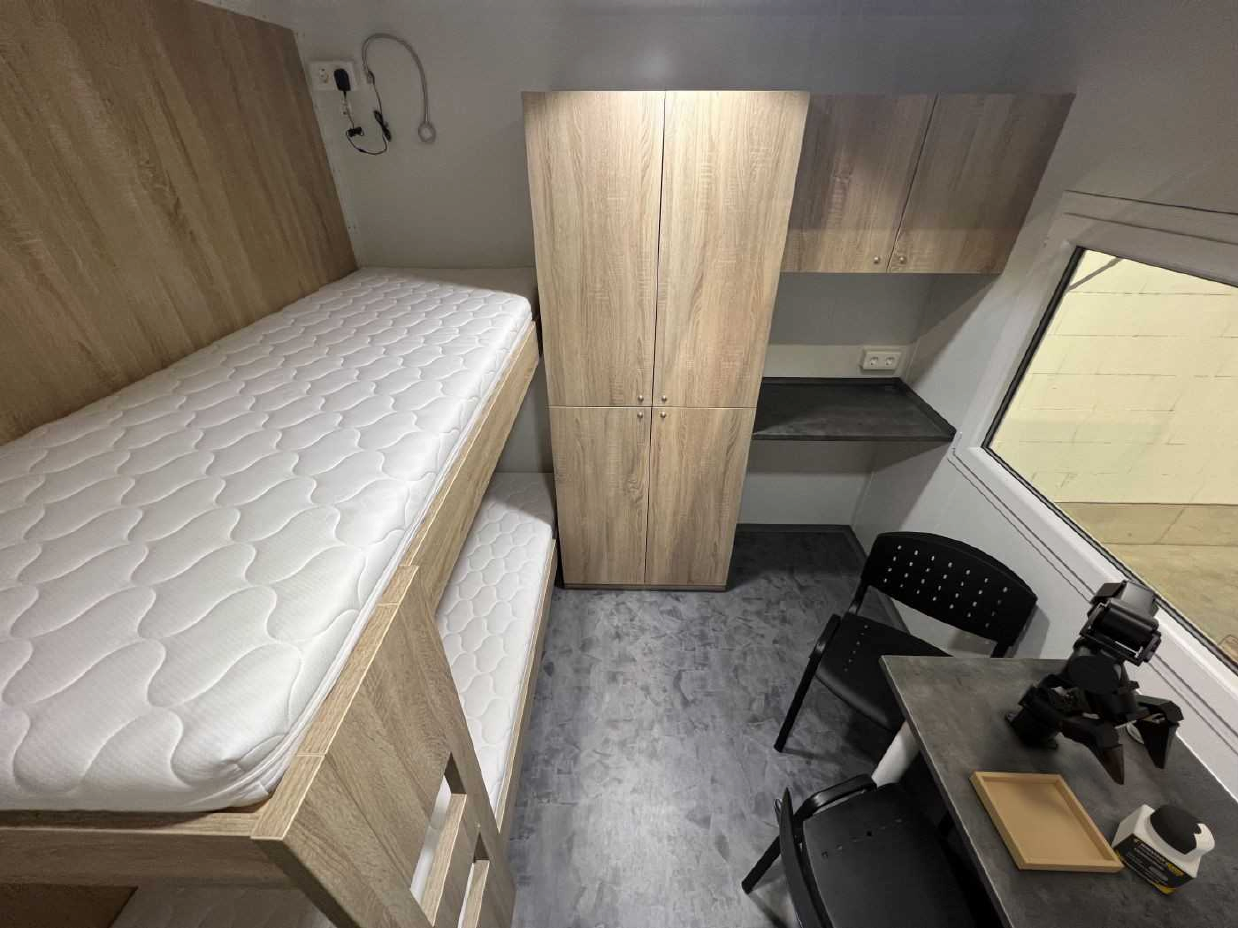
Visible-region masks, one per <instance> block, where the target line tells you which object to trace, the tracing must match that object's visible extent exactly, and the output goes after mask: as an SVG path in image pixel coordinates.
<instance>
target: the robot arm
mask: <svg viewBox="0 0 1238 928" xmlns="http://www.w3.org/2000/svg"><path fill="white" fill-rule="evenodd" d="M1159 595H1160V594H1159V593H1157V592H1156V591H1155V590H1154V589H1152V588H1150V587H1147V586H1146V585H1143V584H1141V583H1139V582H1136V581H1134V580H1132V579H1126V578H1123V579H1122V581H1120V582H1104V583H1103V584H1102V585H1101V586H1100V587H1099V588H1098V590H1096V592H1095V593H1094V595H1093V596H1092V597H1091V598H1090V600H1089V601H1088V604H1090V605H1091V606H1090V608H1089V610H1088V611H1087V612H1086V617H1087V620H1086V622H1085V624H1084V625H1083V626H1082V627H1081V629H1080V631H1079V633H1078V635H1079V636H1080V637H1078V638H1077V639H1076V640H1075V641H1074V642H1073V645H1072V646H1071V648H1072V650H1073V652H1072V653H1071V654H1070V656H1069V657H1068V658H1067V660H1066V661H1065V663H1064V664H1063V666H1062V667H1061V668H1060V670H1059V672H1058V673H1054V672H1052V673H1049V674H1047V676H1043V678H1042V679H1041V680H1040V681H1039V682H1038V683H1037V684H1036V683H1034V682H1033V683H1031V684H1030V685H1029V686H1028V687H1027V688H1026V690H1025V691H1024V693H1023V694H1022V696H1021V697H1020V699H1019V700H1018V702H1017V705H1018V706H1020V707H1021V709H1020V710H1019V712H1018V713H1005V716H1004V717H1005V719H1006V720H1007V722H1008V723H1009V724H1010V727H1012V729H1013V730H1014V731H1015V733H1016V735H1017V736H1018V738H1019V739H1020V741H1021V742H1022V744H1023V745H1024V746H1025V747H1026V748H1039V749H1058V748H1059V747H1060V745H1059V743H1058V742H1057V741H1056V739H1055V738H1056V737H1057V736H1058V735H1059V734H1060V733H1061V734H1062V736H1063V738H1065V739H1069V740H1072V742H1073V743H1077V744H1081V745H1083V746H1084V747H1085V748H1087V749H1088V751H1090V753H1091V754H1092V755H1093V757H1095V759H1096V760H1097V761H1098V762H1099V764H1100V765H1101V767H1102V768H1103V769H1104V770H1105V772H1106V773H1107V774H1108V775H1109V777H1110V778H1111V779H1112V781H1113V783H1115V784H1117V785H1119V786H1124V785H1125V775H1126V774H1125V758H1124V757H1125V753H1124V744H1123V743H1120V742H1119V741H1120V734H1119V732H1118V729H1120V728H1121V729H1122V728H1125V727H1127V725H1129V724H1132V725H1133V726H1134V727H1135V728H1136V729H1137V730H1138V731H1139V733H1140V736H1141V738H1142V740H1143V742H1144V744H1143V745H1144V747H1145V749H1146V752H1147V753H1148V756H1149V758H1150V760H1151V761H1152V763H1153V765H1154V767H1155V768H1157V769H1160V770H1165V769H1166V767H1167V763H1168V759H1169V755H1170V751H1171V748H1172V744H1173V741H1174V739H1175V736H1176V733H1177V730H1178V728H1180V727H1181V724H1180V722H1182V721H1184V720H1185V717H1184V714H1183V712H1182V709H1181V707H1180V706H1179V705H1178V704H1176V703H1175V702H1173V700H1171V699H1166V698H1160V697H1156V696H1149V695H1144V694H1139V693H1138V694H1136V693H1135V690H1139V689H1141V687H1140V683H1139V681H1137V680H1132V679H1130V677H1129V674H1128V671H1127V669H1126V665H1125V662H1126V661H1127V662H1129V663H1130V664H1132V665H1134V666H1136V667H1138V668H1139V667H1140V666H1141V665H1142V664H1143V663H1144V664H1147V663H1149V662H1150V661H1151V660H1152V659H1153V656H1154V655H1155V653H1156V652H1157V650H1158V649H1159V647H1160V645H1161V644H1162V638H1161V637H1162V636H1163V634H1162V632H1161V631H1159V628H1160V623H1159V619H1157V618H1156V617H1155V616H1156V615H1157V613H1158V612H1159V611H1160V607H1159V605H1158V603H1157V602H1156V600H1157V599H1158V597H1159ZM1137 653H1138V655H1137ZM1084 714H1087V715H1096V716H1097V718H1094V717H1090V716H1086V715H1084Z"/></svg>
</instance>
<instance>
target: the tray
mask: <svg viewBox="0 0 1238 928" xmlns="http://www.w3.org/2000/svg"><path fill="white" fill-rule="evenodd" d="M969 781H970V782H971V784H972V786H973V789H974V790H975V791H976V793H977V795H978V797H979V799H980V800H981V802H982V804H983V806H984V808H985V809H986V812H988V815H989V817H990V819H991V820H992V823H993V825H994V826H995V827H996V830H997V831H998V834H999V835H1000V837H1001V839H1002V841H1003V842H1004V844H1005V846H1006V847H1007V849H1008V851H1009V853H1010V855H1011V857H1012V858H1013V861H1014V862H1015V864H1016V866H1017V868H1018V869H1019V870H1031V871H1032V870H1034V871H1058V872H1060V871H1063V872H1084V873H1085V872H1086V873H1087V872H1089V873H1113V874H1115V873H1118V872H1119V871H1120V870H1122V869H1124V868H1125V865H1124V864H1123V863H1122V860H1121V859H1120V858H1118V857H1117V855H1116V854H1115V853H1114V851H1113V850H1112V848H1111V845H1110V843H1109V842H1108V841H1107V840H1106V838H1105V837H1104V835H1103V834H1102V833H1101V831H1100V830H1099V828H1098V826H1097V825H1096V823H1094V821H1093V820H1092V818H1091V817H1090V815H1089V814H1088V812H1087V811H1086V809H1085V808H1084V807H1083V805H1082V804H1081V802H1080V801H1079V800H1078V798H1077V796H1076V795H1075V794H1074V792H1073V790H1071V788H1070V787H1069V785H1068V784H1067V783H1066V781H1065V780H1064V778H1063V777H1062V775H1061V774H1056V773H1055V774H1051V773H1024V772H1023V773H1022V772H996V771H974V772H973V773H972V774H971V775H970V776H969Z"/></svg>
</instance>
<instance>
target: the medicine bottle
mask: <svg viewBox="0 0 1238 928" xmlns="http://www.w3.org/2000/svg"><path fill="white" fill-rule="evenodd" d="M1215 846H1216V842H1215V839H1214V836H1213V834H1212V832H1211V831H1210V829H1209V828H1208V826H1207V825H1206V824H1205V823H1204V822H1202V820H1200V819H1199V818H1198V817H1197V816H1196V815H1195V814H1193V813H1192V812H1190V811H1188V810H1186V809H1185V808H1182V807H1180V806H1177V805H1173V804H1169V803H1168V804H1167V803H1166V804H1162V805H1161V806H1160V807H1158V808H1157V809H1156V810H1155V809H1154V808H1152V807H1150V806H1149V805H1147V804H1142V805H1141V806H1140V807H1138V808H1137V809H1135V810H1134V811H1133V812H1132V813H1131V814H1130V815H1128V816H1127V817H1126V818H1125V819H1123V820H1121V821H1120V822H1119V825H1118V828H1117V830H1116V833H1115V835H1114V837H1113V840H1112V842H1111V845H1110V847H1111V848H1112V850H1113V851H1114V853H1115V854H1116V855H1117V857H1118V858H1119V860H1120V861H1121V862H1123V863H1125V864H1126V865H1127V866H1128V867H1130V868H1131V869H1133V871H1135V872H1136V873H1138V874H1139V875H1140V876H1142V877H1143V878H1144V879H1146V880H1147V881H1148V882H1149V883H1151V884H1152V885H1153V886H1155V887H1156V888H1157V889H1159V890H1160V891H1161V892H1162V893H1164V894H1166V895H1168V894H1170V893H1172V892H1173V891H1175V890H1177V889H1178V888H1181V887H1182V886H1184V885H1185V884H1187V883H1189V882H1190V881H1193V880H1194V879H1196V878H1197V875H1198V871H1199V866H1200V863H1201V860H1202V856H1205V855H1206V854H1208V852H1210V851H1212V850H1213V849H1214V848H1215Z"/></svg>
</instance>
